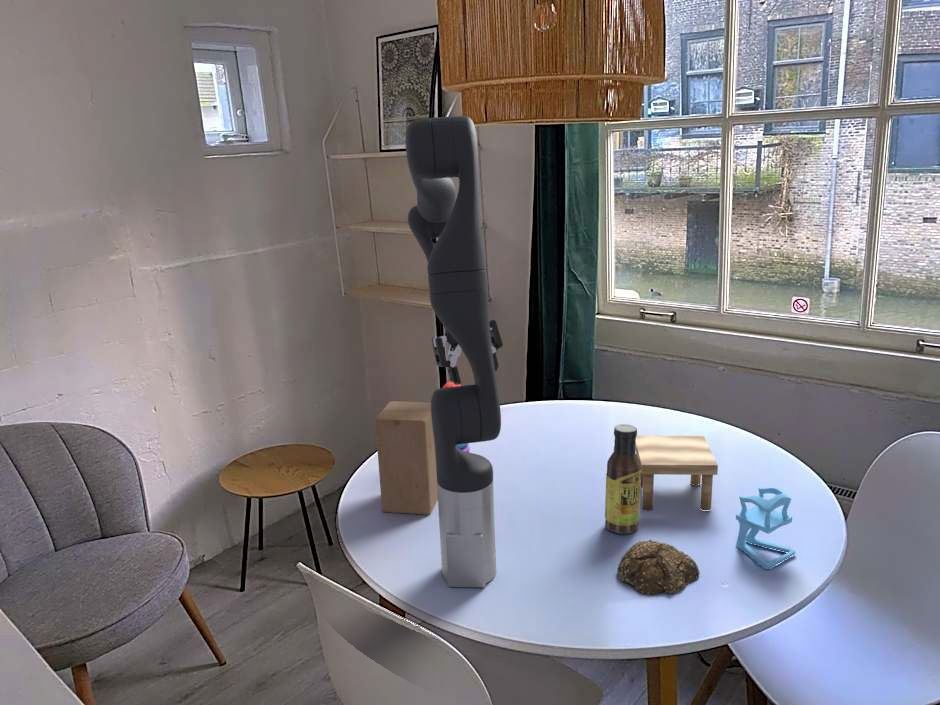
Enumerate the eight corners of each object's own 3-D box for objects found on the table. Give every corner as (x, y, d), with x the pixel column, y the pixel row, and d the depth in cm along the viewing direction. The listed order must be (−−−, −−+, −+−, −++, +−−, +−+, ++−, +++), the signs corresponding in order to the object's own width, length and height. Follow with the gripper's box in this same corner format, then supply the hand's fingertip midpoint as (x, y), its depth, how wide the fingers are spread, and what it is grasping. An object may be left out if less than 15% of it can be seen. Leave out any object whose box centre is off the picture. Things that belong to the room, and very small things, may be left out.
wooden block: (430, 516, 152) (424, 420, 146) (381, 512, 154) (374, 418, 148) (442, 492, 161) (437, 401, 156) (396, 489, 163) (389, 400, 158)
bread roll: (643, 547, 139) (643, 522, 137) (707, 572, 130) (709, 545, 129) (601, 578, 130) (602, 551, 128) (667, 607, 122) (669, 579, 120)
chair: (755, 536, 140) (758, 475, 137) (796, 555, 133) (801, 492, 130) (726, 550, 136) (730, 487, 133) (767, 570, 129) (772, 505, 126)
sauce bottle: (623, 540, 141) (625, 437, 135) (597, 526, 145) (598, 427, 140) (646, 528, 144) (649, 428, 139) (621, 515, 149) (623, 418, 143)
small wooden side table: (715, 513, 149) (717, 465, 146) (640, 512, 150) (641, 464, 147) (701, 480, 162) (703, 435, 159) (633, 479, 163) (634, 435, 161)
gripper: (432, 310, 149) (453, 390, 152) (495, 290, 155) (514, 368, 158) (417, 310, 156) (437, 387, 158) (478, 291, 162) (497, 365, 164)
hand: (476, 377), depth 158 cm, fingers open, 8 cm apart
